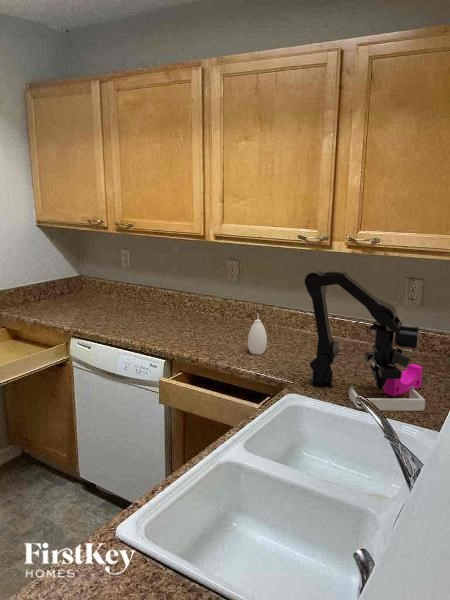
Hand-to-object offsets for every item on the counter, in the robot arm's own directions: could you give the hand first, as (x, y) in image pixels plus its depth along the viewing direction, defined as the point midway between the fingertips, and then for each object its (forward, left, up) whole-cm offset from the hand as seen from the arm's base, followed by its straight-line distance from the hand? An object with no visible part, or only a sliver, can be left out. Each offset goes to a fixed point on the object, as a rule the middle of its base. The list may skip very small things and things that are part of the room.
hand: (380, 389), depth 153 cm
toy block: (+9, +7, -3) cm, 12 cm away
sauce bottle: (-38, +41, -3) cm, 55 cm away
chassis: (0, -5, -3) cm, 6 cm away
